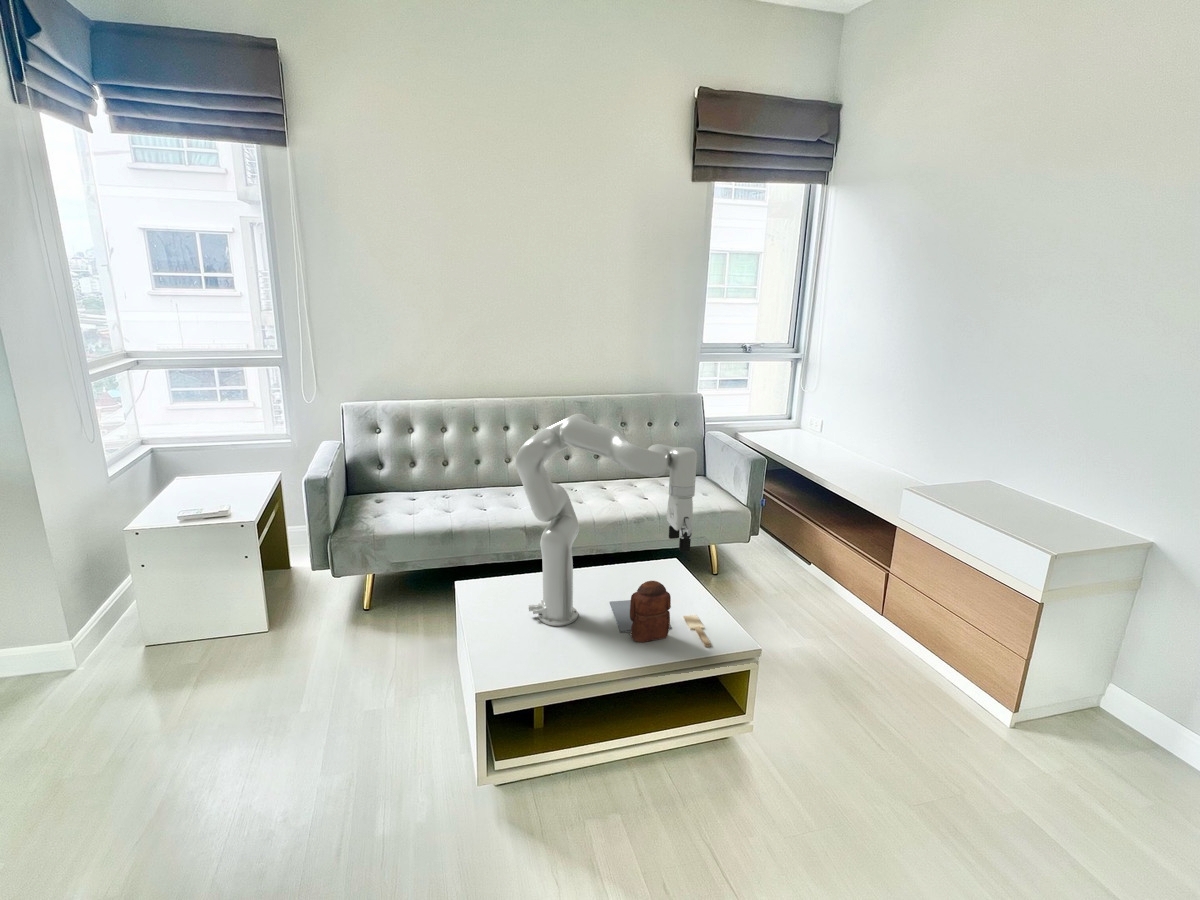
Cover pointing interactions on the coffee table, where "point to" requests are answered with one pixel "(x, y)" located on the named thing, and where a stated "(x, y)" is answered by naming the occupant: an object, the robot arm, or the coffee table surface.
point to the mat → (622, 615)
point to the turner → (697, 628)
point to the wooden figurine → (650, 612)
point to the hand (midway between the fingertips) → (679, 544)
